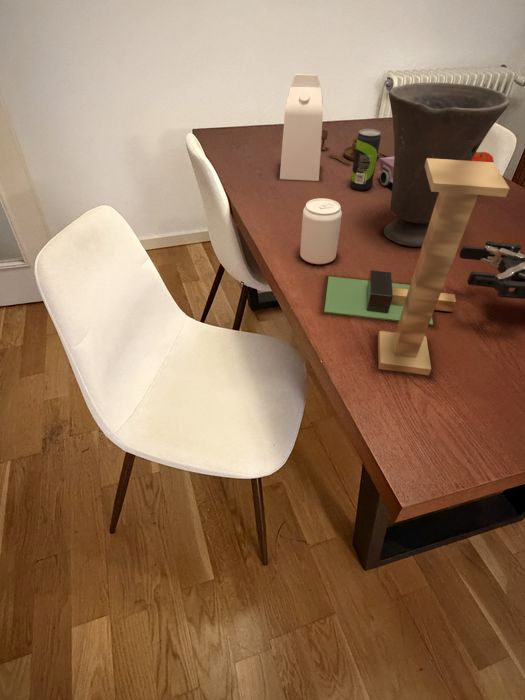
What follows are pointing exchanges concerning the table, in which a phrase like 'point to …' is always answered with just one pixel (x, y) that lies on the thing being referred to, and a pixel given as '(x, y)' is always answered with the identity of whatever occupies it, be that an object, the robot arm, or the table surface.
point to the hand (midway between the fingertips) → (464, 264)
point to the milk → (302, 129)
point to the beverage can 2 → (365, 159)
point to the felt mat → (357, 299)
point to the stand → (436, 257)
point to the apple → (482, 157)
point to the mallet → (395, 294)
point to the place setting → (348, 151)
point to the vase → (433, 144)
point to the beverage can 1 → (320, 230)
